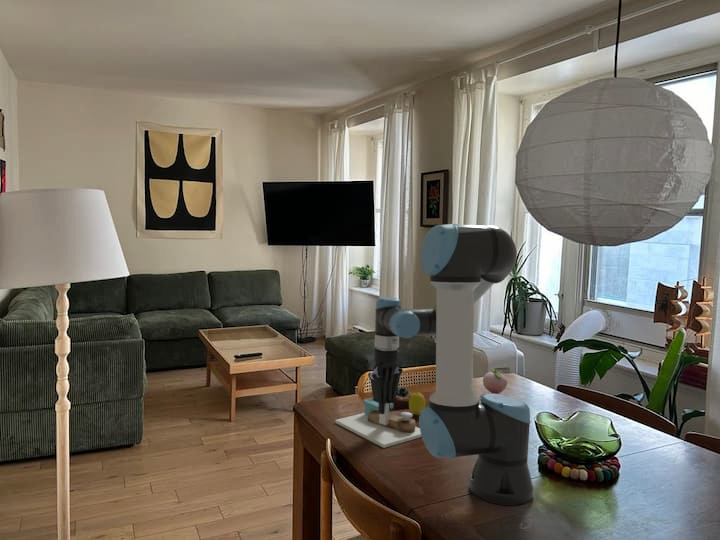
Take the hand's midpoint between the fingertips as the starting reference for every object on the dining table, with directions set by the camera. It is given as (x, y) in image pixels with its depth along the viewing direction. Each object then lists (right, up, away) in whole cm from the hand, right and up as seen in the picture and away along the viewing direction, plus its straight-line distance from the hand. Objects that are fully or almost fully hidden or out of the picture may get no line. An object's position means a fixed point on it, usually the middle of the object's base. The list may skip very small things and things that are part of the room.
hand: (383, 423), depth 178 cm
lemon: (+12, -2, +15) cm, 19 cm away
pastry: (+6, -1, +27) cm, 28 cm away
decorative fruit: (+43, 0, +40) cm, 59 cm away
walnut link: (+3, -1, +2) cm, 3 cm away
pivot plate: (-1, -2, +2) cm, 3 cm away
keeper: (-2, -1, +10) cm, 10 cm away
